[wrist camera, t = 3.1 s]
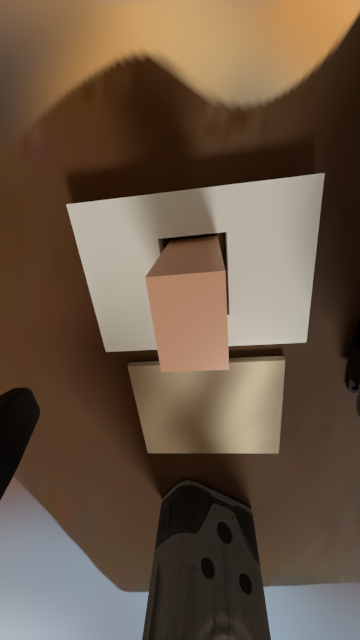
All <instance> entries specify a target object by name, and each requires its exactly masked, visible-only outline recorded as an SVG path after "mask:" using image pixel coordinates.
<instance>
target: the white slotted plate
mask: <svg viewBox="0 0 360 640" xmlns="http://www.w3.org/2000/svg"><path fill="white" fill-rule="evenodd" d="M324 175H325V173H320V174H312V175H304V176H296V177H288V178H279V179H271V180H263V181H255V182H246V183H238V184H230V185H222V186H213V187H205V188H197V189H189V190H181V191H172V192H164V193H156V194H148V195H139V196H131V197H123V198H115V199H107V200H98V201H90V202H82V203H74V204H66V206H67V209H68V213H69V217H70V220H71V224H72V228H73V232H74V235H75V239H76V243H77V246H78V250H79V254H80V258H81V261H82V265H83V269H84V273H85V276H86V280H87V284H88V287H89V291H90V295H91V299H92V302H93V306H94V310H95V313H96V317H97V321H98V325H99V328H100V332H101V336H102V340H103V343H104V347H105V351H106V352H118V351H139V350H157V345H156V339H155V333H154V327H153V321H152V315H151V309H150V304H149V298H148V292H147V286H146V280H145V277H146V275H147V274H148V272H149V271H150V269H151V268H152V266H153V265H154V263H155V262H156V260H157V259H158V258H159V256H160V255H161V253H162V252H163V250H164V249H163V242H162V238H171V237H181V236H191V235H201V234H211V233H221V232H225V242H226V271H227V299H228V306H227V323H228V346H243V345H264V344H285V343H306V341H307V332H308V323H309V314H310V304H311V295H312V286H313V277H314V268H315V258H316V249H317V240H318V231H319V222H320V212H321V203H322V194H323V185H324Z"/></svg>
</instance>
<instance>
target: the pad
mask: <svg viewBox="0 0 360 640" xmlns="http://www.w3.org/2000/svg"><path fill="white" fill-rule="evenodd" d="M128 371H129V375H130V379H131V384H132V388H133V392H134V397H135V401H136V405H137V409H138V414H139V418H140V422H141V426H142V431H143V435H144V439H145V443H146V448H147V452H148V453H279V443H280V429H281V415H282V401H283V387H284V373H285V358H284V356H266V357H243V358H229V370H210V371H183V372H161V368H160V362H159V361H148V362H129V364H128Z"/></svg>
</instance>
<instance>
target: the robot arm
mask: <svg viewBox="0 0 360 640" xmlns="http://www.w3.org/2000/svg"><path fill="white" fill-rule="evenodd" d="M347 375H348V377H347V382H346V387H347V388H348V390H349V391H350V392H352V393H358V394H357V399H356V410H357V413H358V416H359V418H360V319H359V322H358V327H357V332H356V337H355V342H354V343H353V345H352V347H351V352H350V357H349V362H348V367H347ZM354 385H356V386H354ZM353 386H354V387H353ZM39 415H40V408H39V406H38V404H37V401H36V399H35V397H34V394H33V392H32V390H31V389H29V388H14V389H11V390H10V391H8V392H6V393H4V394H2V395H0V500H1V498H2V496H3V494H4V492H5V490H6V489H7V487H8V485H9V483H10V481H11V479H12V477H13V475H14V473H15V471H16V469H17V467H18V465H19V463H20V461H21V458H22V456H23V454H24V451H25V449H26V447H27V444H28V442H29V440H30V437H31V435H32V433H33V430H34V428H35V426H36V423H37V421H38V419H39Z"/></svg>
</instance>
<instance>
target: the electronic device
mask: <svg viewBox="0 0 360 640" xmlns="http://www.w3.org/2000/svg"><path fill="white" fill-rule="evenodd" d="M143 640H271V638H270V632H269V625H268V618H267V611H266V603H265V596H264V590H263V583H262V576H261V569H260V562H259V555H258V548H257V541H256V534H255V528H254V521H253V513H252V511H251V510H250V509H249V508H248V507H247V506H245V505H244V504H242V503H240V502H238V501H236V500H233V499H231V498H229V497H227V496H225V495H223V494H221V493H219V492H217V491H214V490H212V489H210V488H208V487H206V486H204V485H202V484H200V483H198V482H195V481H190V480H187V481H182V482H181V483H179V484H177V485H176V486H175V487H174V488H173V489H172V490H171V491H170V492H169V493H168V494H167V495H166V496H165V497H164V498H163V499H162V504H161V510H160V517H159V524H158V531H157V539H156V546H155V553H154V560H153V568H152V575H151V582H150V589H149V596H148V603H147V610H146V617H145V625H144V632H143Z"/></svg>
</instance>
